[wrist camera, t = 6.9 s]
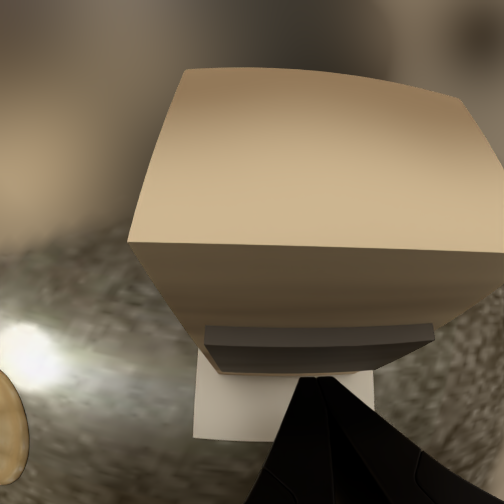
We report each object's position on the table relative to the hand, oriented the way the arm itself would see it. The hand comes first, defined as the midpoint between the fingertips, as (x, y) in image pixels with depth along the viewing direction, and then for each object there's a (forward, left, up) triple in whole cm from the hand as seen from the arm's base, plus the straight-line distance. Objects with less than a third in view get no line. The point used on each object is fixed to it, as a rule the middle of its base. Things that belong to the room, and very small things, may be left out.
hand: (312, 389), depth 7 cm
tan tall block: (+3, -1, -6) cm, 7 cm away
